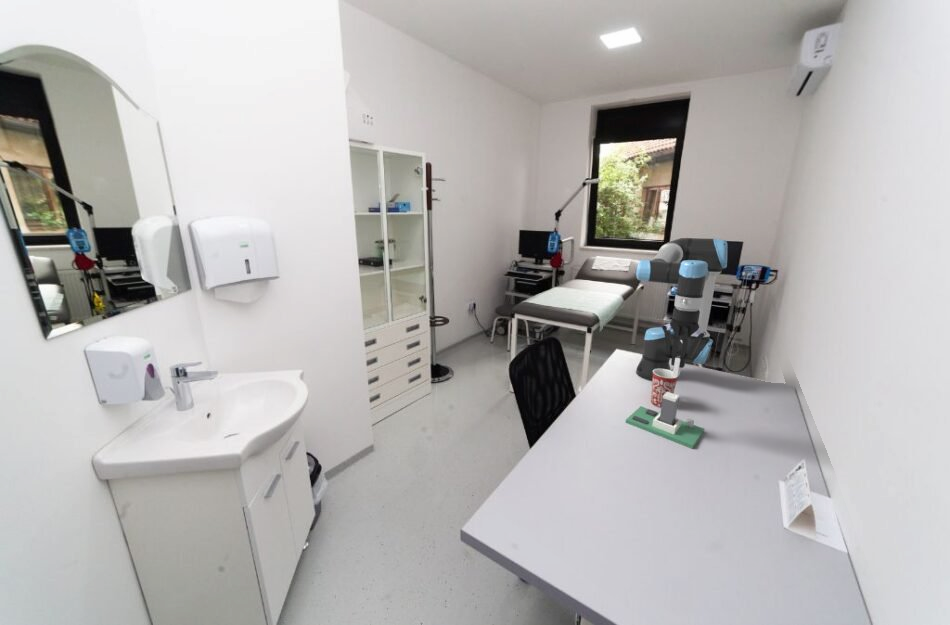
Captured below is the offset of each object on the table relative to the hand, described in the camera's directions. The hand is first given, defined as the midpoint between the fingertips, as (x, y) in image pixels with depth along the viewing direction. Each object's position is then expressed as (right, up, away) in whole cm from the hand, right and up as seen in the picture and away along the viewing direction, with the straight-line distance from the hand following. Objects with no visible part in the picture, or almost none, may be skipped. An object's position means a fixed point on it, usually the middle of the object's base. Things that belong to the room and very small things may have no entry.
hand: (676, 375), depth 125 cm
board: (-1, -20, +6) cm, 21 cm away
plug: (-1, -19, +5) cm, 20 cm away
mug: (+7, -15, +24) cm, 30 cm away
